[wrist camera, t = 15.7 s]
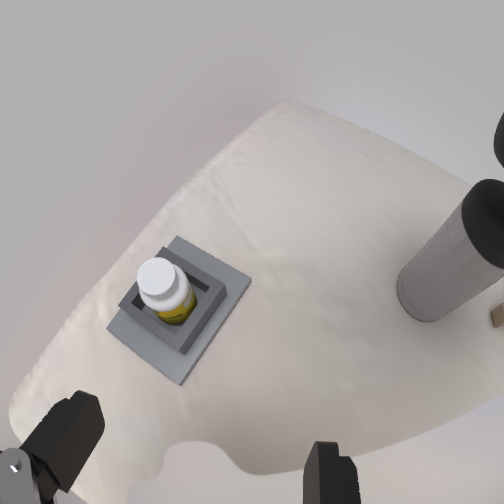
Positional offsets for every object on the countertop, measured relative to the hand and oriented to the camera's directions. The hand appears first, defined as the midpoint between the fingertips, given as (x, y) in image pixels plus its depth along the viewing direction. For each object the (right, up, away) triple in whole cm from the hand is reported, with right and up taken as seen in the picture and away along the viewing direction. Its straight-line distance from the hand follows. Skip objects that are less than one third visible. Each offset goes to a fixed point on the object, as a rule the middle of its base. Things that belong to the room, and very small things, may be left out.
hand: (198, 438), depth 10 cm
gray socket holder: (-8, -1, +30) cm, 31 cm away
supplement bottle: (-7, 0, +29) cm, 30 cm away
